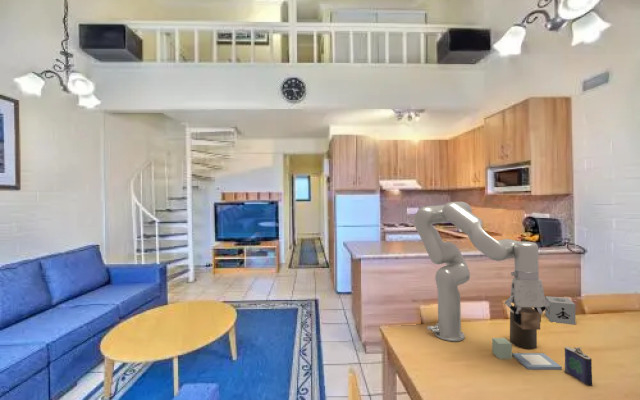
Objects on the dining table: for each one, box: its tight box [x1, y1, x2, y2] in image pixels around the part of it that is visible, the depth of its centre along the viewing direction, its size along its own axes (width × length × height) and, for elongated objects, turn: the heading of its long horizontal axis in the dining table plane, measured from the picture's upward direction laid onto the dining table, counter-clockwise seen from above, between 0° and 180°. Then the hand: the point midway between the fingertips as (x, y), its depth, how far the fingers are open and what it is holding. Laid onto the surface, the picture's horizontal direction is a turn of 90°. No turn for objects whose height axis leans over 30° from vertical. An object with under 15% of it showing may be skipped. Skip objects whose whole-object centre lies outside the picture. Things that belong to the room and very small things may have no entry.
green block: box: [491, 337, 513, 360], centre depth 126 cm, size 5×5×6 cm
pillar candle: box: [509, 309, 538, 350], centre depth 135 cm, size 10×10×15 cm
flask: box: [564, 346, 593, 387], centre depth 110 cm, size 9×3×11 cm, turn 8°
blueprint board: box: [512, 352, 563, 371], centre depth 121 cm, size 12×10×1 cm
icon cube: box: [544, 295, 576, 326], centre depth 160 cm, size 10×10×10 cm
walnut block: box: [514, 307, 541, 331], centre depth 119 cm, size 6×6×6 cm
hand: (527, 323), depth 119 cm, fingers closed on walnut block, 6 cm apart
